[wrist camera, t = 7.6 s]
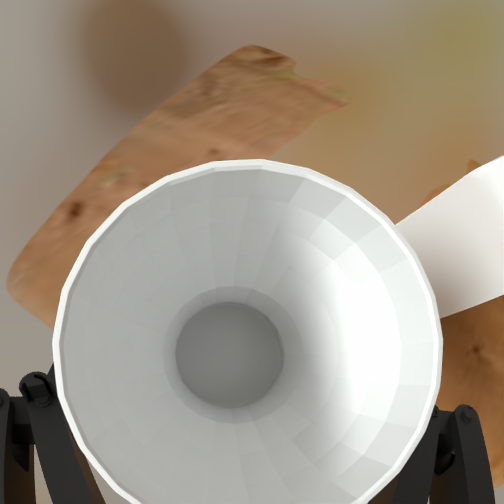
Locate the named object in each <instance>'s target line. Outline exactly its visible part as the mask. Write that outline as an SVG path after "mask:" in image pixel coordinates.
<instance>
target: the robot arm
mask: <svg viewBox="0 0 504 504" xmlns="http://www.w3.org/2000/svg"><path fill="white" fill-rule="evenodd" d="M19 390H20V392H21V393H22V395H23V397H10V396H9V395H8V393H7V392H6V391H5V390H4V389H1V388H0V504H36V497H35V480H34V444H35V445H36V449H37V453H38V457H39V461H40V464H41V468H42V471H43V474H44V478H45V481H46V484H47V487H48V490H49V494H50V496H51V499H52V502H53V504H106V503H105V501H104V499H103V497H102V495H101V492H100V490H99V488H98V486H97V484H96V481H95V479H94V476H93V474H92V472H91V469H90V467H89V464H88V462H87V459H86V456H85V455H84V453H83V452H82V451H81V449H80V448H79V446H78V444H77V442H76V440H75V437H74V435H73V433H72V431H71V428H70V426H69V423H68V421H67V419H66V416H65V414H64V411H63V409H62V406H61V403H60V401H59V398H58V394H57V386H56V378H55V368H54V362H53V364H52V367H51V368H50V370H49V372H48V374H47V375H46V374H45V373H42V372H32V373H29V374H27V375H26V376H25V377H23V378H22V380H21V381H20V383H19ZM428 498H429V502H430V504H495V497H494V490H493V483H492V477H491V471H490V465H489V460H488V455H487V450H486V446H485V441H484V437H483V433H482V428H481V424H480V421H479V417H478V414H477V412H476V411H475V410H474V409H473V408H472V407H471V406H469V405H465V404H463V405H459V406H458V407H457V408H456V409H455V410H454V412H451V411H441V410H439V409H438V407H437V406H436V405H434V408H433V411H432V414H431V417H430V420H429V423H428V426H427V429H426V431H425V433H424V435H423V436H422V438H421V440H420V441H419V443H418V445H417V446H416V448H415V449H414V451H413V453H412V454H411V456H410V457H409V459H408V460H407V462H406V463H405V465H404V466H403V468H402V469H401V471H400V472H399V473H398V474H397V475H396V476H395V477H394V478H393V479H392V480H391V481H390V482H389V483H388V484H387V485H386V486H385V487H384V488H383V489H382V490H381V491H380V492H378V493H377V494H376V495H375V496H374V497H373V498H372V499H371V500H370V501H369V502H368V504H427V502H428Z"/></svg>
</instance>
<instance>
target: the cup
mask: <svg viewBox="0 0 504 504" xmlns="http://www.w3.org/2000/svg"><path fill="white" fill-rule="evenodd" d="M52 343H53V358H54V368H55V378H56V386H57V394H58V398H59V401H60V403H61V406H62V409H63V411H64V414H65V416H66V419H67V421H68V423H69V426H70V428H71V431H72V433H73V435H74V437H75V440H76V442H77V444H78V446H79V448H80V449H81V451H82V452H83V453H84V455H85V456H86V457H87V458H88V460H89V461H90V462H91V464H92V465H93V466H94V467H95V469H96V470H97V471H98V472H99V473H100V475H101V476H102V477H103V478H104V479H105V480H106V482H107V483H108V484H109V485H110V486H111V487H112V488H113V490H114V491H116V492H117V493H118V494H119V495H121V496H122V497H124V498H125V499H126V500H128V501H129V502H131V503H132V504H366V503H367V502H368V501H370V500H371V499H372V498H373V497H374V496H375V495H376V494H377V493H378V492H380V491H381V490H382V489H383V488H384V487H385V486H386V485H387V484H388V483H389V482H390V481H391V480H392V479H393V478H394V477H395V476H396V475H397V474H398V473H399V472H400V471H401V469H402V468H403V466H404V465H405V463H406V462H407V460H408V459H409V457H410V456H411V454H412V453H413V451H414V449H415V448H416V446H417V445H418V443H419V441H420V440H421V438H422V436H423V435H424V433H425V431H426V429H427V426H428V423H429V420H430V417H431V414H432V411H433V408H434V405H435V402H436V398H437V395H438V392H439V388H440V382H441V369H442V353H443V337H442V330H441V325H440V319H439V314H438V308H437V303H436V298H435V294H434V292H433V289H432V287H431V285H430V283H429V280H428V278H427V276H426V274H425V271H424V269H423V267H422V265H421V263H420V261H419V258H418V256H417V254H416V252H415V251H414V250H413V248H412V247H411V246H410V244H409V243H408V242H407V241H406V239H405V238H404V237H403V235H402V234H401V233H400V232H399V230H398V229H397V228H396V227H395V225H394V224H393V223H392V222H391V220H390V219H389V218H388V217H387V216H386V215H385V214H383V213H382V212H381V211H380V210H379V209H377V208H376V207H375V206H374V205H372V204H371V203H370V202H369V201H367V200H366V199H365V198H364V197H362V196H361V195H360V194H358V193H357V192H356V191H355V190H353V189H352V188H350V187H348V186H346V185H344V184H342V183H340V182H337V181H336V180H333V179H331V178H329V177H327V176H325V175H323V174H320V173H318V172H316V171H313V170H311V169H309V168H305V167H300V166H295V165H290V164H285V163H280V162H275V161H269V160H264V159H252V160H231V161H214V162H210V163H207V164H203V165H200V166H197V167H193V168H190V169H187V170H184V171H180V172H177V173H174V174H171V175H168V176H165V177H163V178H162V179H160V180H158V181H157V182H155V183H154V184H152V185H150V186H149V187H147V188H145V189H144V190H142V191H141V192H139V193H137V194H136V195H134V196H133V197H131V198H130V199H128V200H126V201H125V202H123V203H122V204H121V205H120V206H119V207H118V208H117V209H116V210H115V211H114V212H113V213H112V214H111V215H110V216H109V218H108V219H107V220H106V221H105V222H104V223H103V224H102V225H101V226H100V227H99V228H98V229H97V231H96V232H95V233H94V234H93V235H92V236H91V237H90V238H89V239H88V241H87V242H86V244H85V245H84V247H83V249H82V251H81V253H80V255H79V257H78V259H77V261H76V262H75V264H74V266H73V268H72V270H71V272H70V274H69V276H68V278H67V280H66V282H65V285H64V287H63V289H62V293H61V298H60V302H59V307H58V312H57V318H56V323H55V329H54V335H53V341H52Z"/></svg>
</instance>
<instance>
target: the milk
mask: <svg viewBox="0 0 504 504" xmlns="http://www.w3.org/2000/svg"><path fill="white" fill-rule="evenodd" d="M395 227H396V228H397V229H398V230H399V232H400V233H401V234H402V235H403V237H404V238H405V239H406V241H407V242H408V243H409V244H410V246H411V247H412V248H413V250H414V251H415V252H416V254H417V256H418V258H419V261H420V263H421V265H422V267H423V269H424V271H425V274H426V276H427V278H428V280H429V283H430V285H431V287H432V289H433V292H434V294H435V298H436V303H437V308H438V314H439V319H440V318H443V317H446V316H449V315H452V314H454V313H457V312H460V311H463V310H465V309H468V308H471V307H473V306H476V305H479V304H481V303H484V302H486V301H489V300H491V299H494V298H496V297H499V296H501V295H504V155H502V156H500V157H499V158H496V159H495V160H493V161H491V162H489V163H487V164H485V165H483V166H481V167H479V168H477V169H475V170H474V171H472V172H470V173H469V174H467V175H466V176H464V177H463V178H462V179H460V180H459V181H457V182H456V183H455V184H453V185H452V186H450V187H449V188H448V189H446V190H445V191H443V192H442V193H441V194H439V195H438V196H436V197H435V198H434V199H432V200H431V201H429V202H428V203H426V204H425V205H424V206H422V207H421V208H419V209H418V210H416V211H415V212H413V213H412V214H411V215H409V216H408V217H406V218H405V219H403V220H402V221H400V222H399V223H397V224H396V225H395Z"/></svg>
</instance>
